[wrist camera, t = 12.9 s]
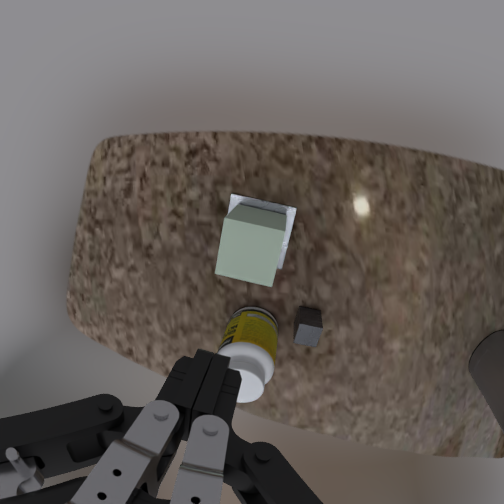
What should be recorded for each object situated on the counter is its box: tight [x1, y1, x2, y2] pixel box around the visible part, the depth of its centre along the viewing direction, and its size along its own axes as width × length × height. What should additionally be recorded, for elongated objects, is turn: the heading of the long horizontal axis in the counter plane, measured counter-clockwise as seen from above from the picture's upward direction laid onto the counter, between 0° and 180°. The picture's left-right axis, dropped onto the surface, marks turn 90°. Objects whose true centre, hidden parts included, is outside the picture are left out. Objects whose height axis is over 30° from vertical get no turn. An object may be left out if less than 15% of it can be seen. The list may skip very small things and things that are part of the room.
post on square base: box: [228, 193, 297, 269], centre depth 30 cm, size 7×7×7 cm
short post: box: [293, 306, 323, 347], centre depth 35 cm, size 3×3×4 cm
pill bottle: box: [217, 307, 278, 403], centre depth 33 cm, size 6×6×11 cm
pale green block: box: [215, 204, 287, 287], centre depth 30 cm, size 5×5×7 cm
